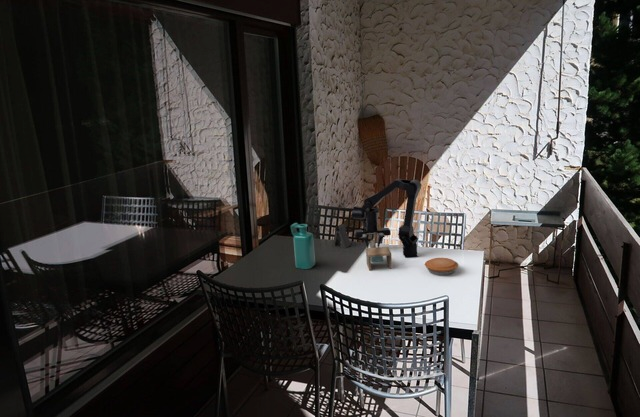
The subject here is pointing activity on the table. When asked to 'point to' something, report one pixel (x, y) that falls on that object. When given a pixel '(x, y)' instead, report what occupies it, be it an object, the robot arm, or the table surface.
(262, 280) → the table surface
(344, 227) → the phone stand
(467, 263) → the table surface
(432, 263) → the pie
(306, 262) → the teal bottle
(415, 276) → the table surface
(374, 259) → the tethered block
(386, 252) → the walnut shelf
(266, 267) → the table surface
